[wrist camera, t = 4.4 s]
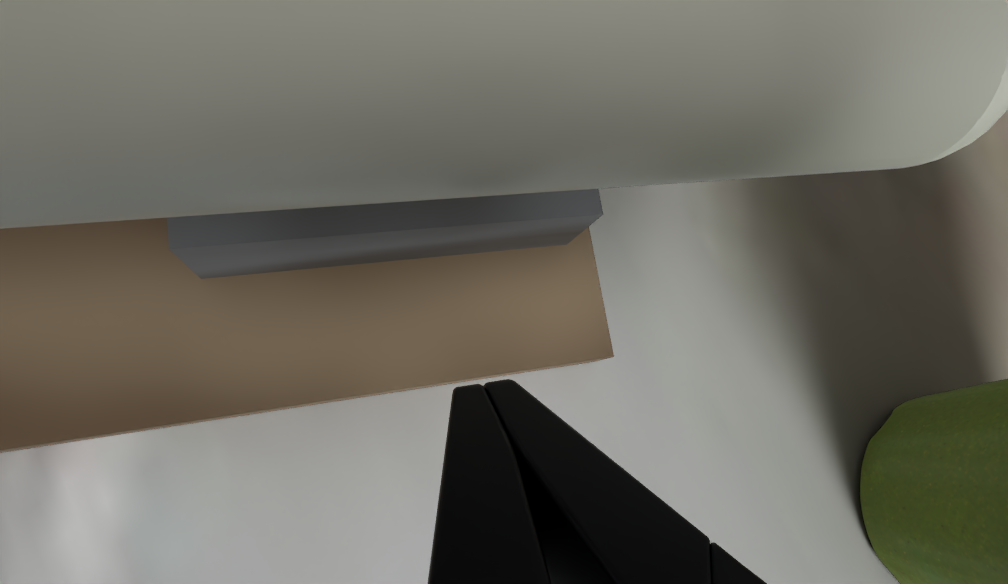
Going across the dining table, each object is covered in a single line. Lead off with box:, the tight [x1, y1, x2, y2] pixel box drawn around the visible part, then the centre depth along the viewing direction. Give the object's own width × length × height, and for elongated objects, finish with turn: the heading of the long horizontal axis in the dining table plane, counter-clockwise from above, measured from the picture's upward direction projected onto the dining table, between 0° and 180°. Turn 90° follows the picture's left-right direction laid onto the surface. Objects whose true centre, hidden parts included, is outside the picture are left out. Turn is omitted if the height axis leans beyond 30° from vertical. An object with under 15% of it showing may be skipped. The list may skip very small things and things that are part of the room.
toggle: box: [0, 0, 1008, 229], centre depth 9 cm, size 2×10×10 cm, turn 99°
